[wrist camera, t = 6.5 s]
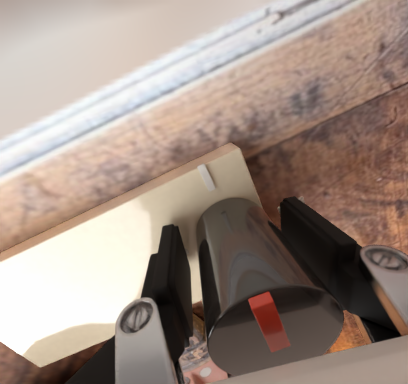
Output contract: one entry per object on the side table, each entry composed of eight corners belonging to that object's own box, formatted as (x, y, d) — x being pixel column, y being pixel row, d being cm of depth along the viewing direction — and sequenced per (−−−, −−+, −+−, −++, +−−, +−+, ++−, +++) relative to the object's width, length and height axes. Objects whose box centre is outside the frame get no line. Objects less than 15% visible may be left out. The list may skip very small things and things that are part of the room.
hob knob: (275, 244, 11) (359, 363, 6) (211, 269, 11) (236, 406, 6) (256, 185, 10) (345, 273, 4) (183, 215, 10) (182, 334, 5)
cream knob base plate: (58, 338, 15) (39, 372, 13) (-34, 266, 12) (-77, 297, 10) (299, 234, 14) (319, 255, 12) (265, 123, 11) (283, 125, 9)
